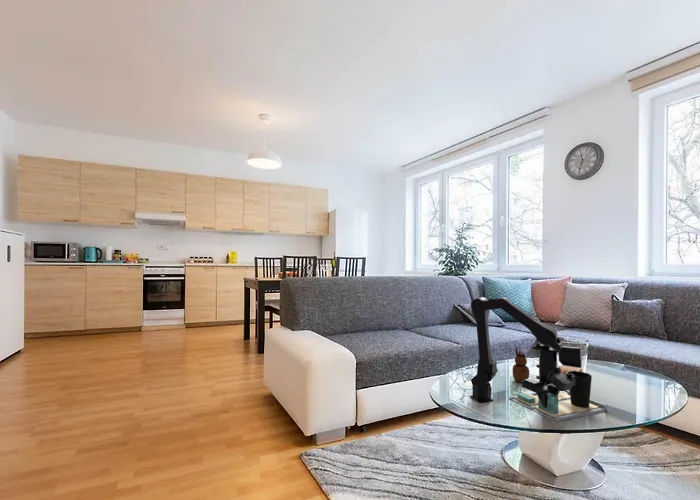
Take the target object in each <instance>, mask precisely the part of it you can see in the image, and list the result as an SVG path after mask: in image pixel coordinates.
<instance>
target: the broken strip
mask: <svg viewBox="0 0 700 500" xmlns="http://www.w3.org/2000/svg"><path fill="white" fill-rule="evenodd" d="M516 394H517V396H516V395H515V396H516V397H515V399H518V400H520V401H522V402H524V403H526V404H528V405H530V406H535V405H538V397H536V396H534V395H532V394H528V393H525V392H518V393H516ZM527 394H528V395H527ZM567 399H570V395H568V394H565V393H563V392H559V394H558V401H562V400H567Z"/></svg>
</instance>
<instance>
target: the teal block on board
mask: <svg viewBox="0 0 700 500" xmlns="http://www.w3.org/2000/svg"><path fill="white" fill-rule="evenodd" d="M598 408H599V407H598V406H595V405H593V404H590V403H589V407H587V408H582V407H577V406H574V405H572V404H571V400H568V401H563V402H558V396H557V395H554V394H552V393H550V392H549V393H548V394H547V407H546V408H544V407H543V406H542V404H541V402H540V399H539V397H538V406H536V409H538V410H540V411H542V412H544V413H546V414H549V415H551V416H553V417H559V416H564V415H569V414H574V413H579V412H584V411H589V410H593V409H598Z"/></svg>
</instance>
